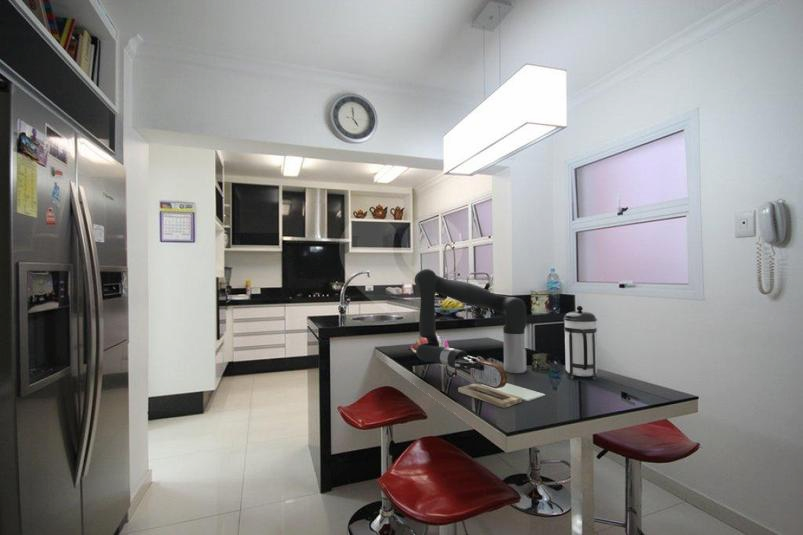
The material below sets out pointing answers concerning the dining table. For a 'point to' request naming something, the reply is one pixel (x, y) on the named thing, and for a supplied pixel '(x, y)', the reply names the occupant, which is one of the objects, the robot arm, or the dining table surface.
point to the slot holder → (504, 403)
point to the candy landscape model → (424, 341)
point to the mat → (519, 392)
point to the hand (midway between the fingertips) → (486, 366)
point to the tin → (490, 374)
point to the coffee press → (580, 344)
